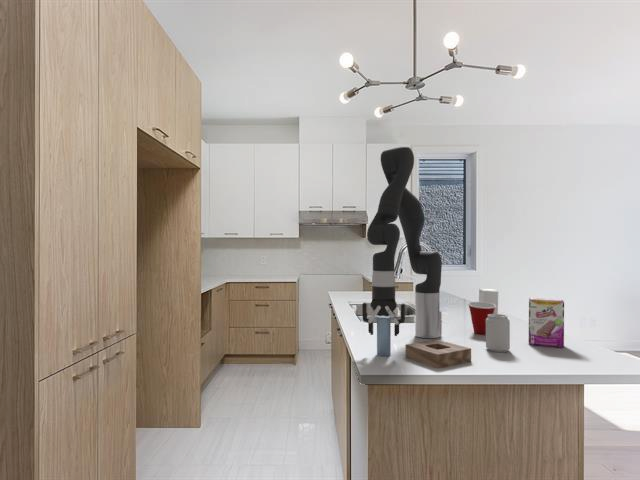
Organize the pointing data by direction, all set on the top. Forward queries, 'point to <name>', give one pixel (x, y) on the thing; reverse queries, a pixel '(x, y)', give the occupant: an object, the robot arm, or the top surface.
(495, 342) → the can
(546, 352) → the top surface
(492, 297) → the skincare box
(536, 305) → the candy bar box
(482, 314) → the plastic cup
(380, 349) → the peg
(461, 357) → the socket block
